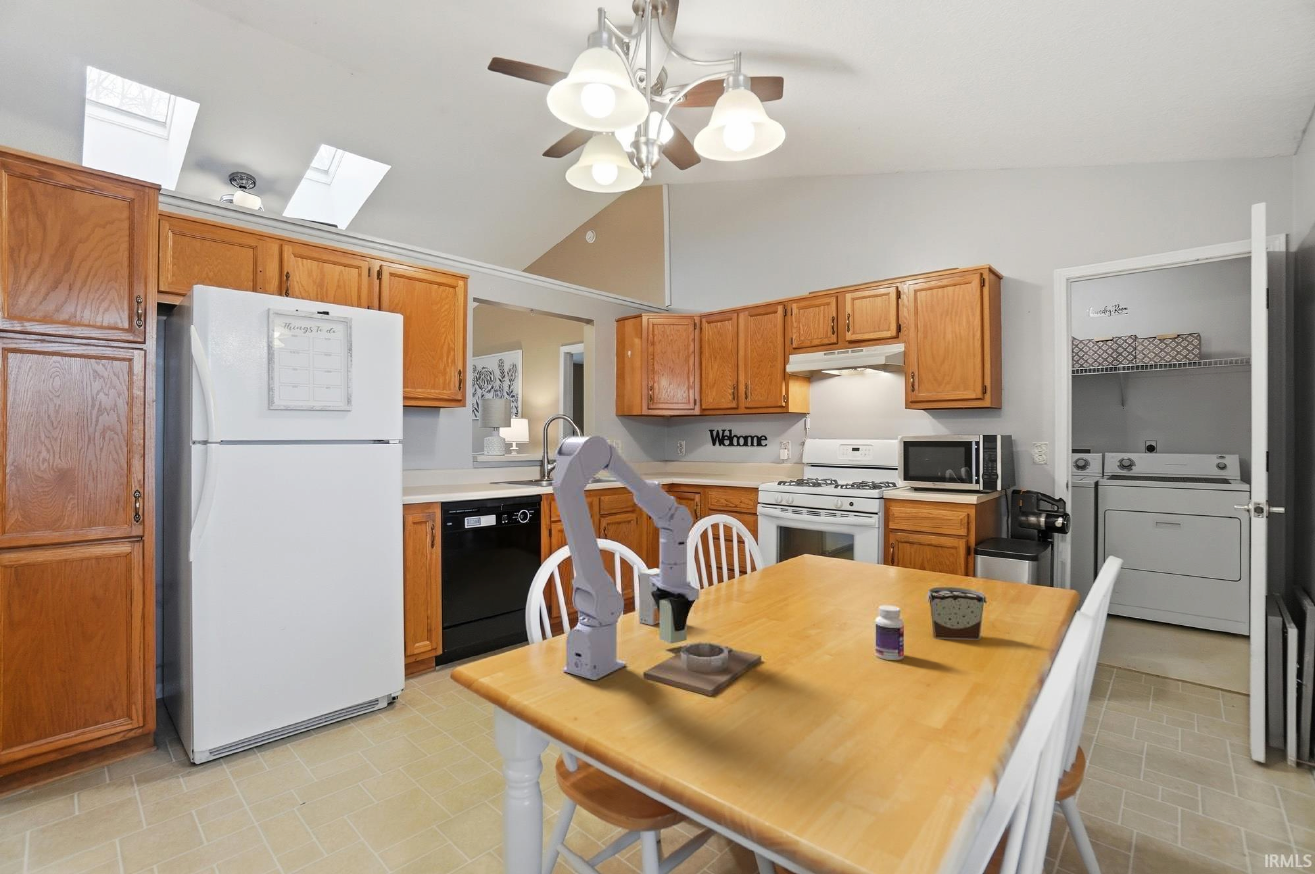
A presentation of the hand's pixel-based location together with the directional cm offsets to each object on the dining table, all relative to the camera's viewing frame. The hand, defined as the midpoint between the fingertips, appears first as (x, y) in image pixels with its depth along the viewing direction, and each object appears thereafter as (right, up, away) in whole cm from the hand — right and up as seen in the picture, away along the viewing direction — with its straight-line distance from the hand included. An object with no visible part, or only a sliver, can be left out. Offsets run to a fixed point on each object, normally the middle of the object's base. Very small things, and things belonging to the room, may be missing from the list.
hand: (673, 627), depth 126 cm
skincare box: (-4, -5, +19) cm, 20 cm away
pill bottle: (+43, -5, -4) cm, 44 cm away
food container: (+62, -5, +9) cm, 63 cm away
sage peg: (0, -2, 0) cm, 2 cm away
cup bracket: (+6, -4, -11) cm, 13 cm away
